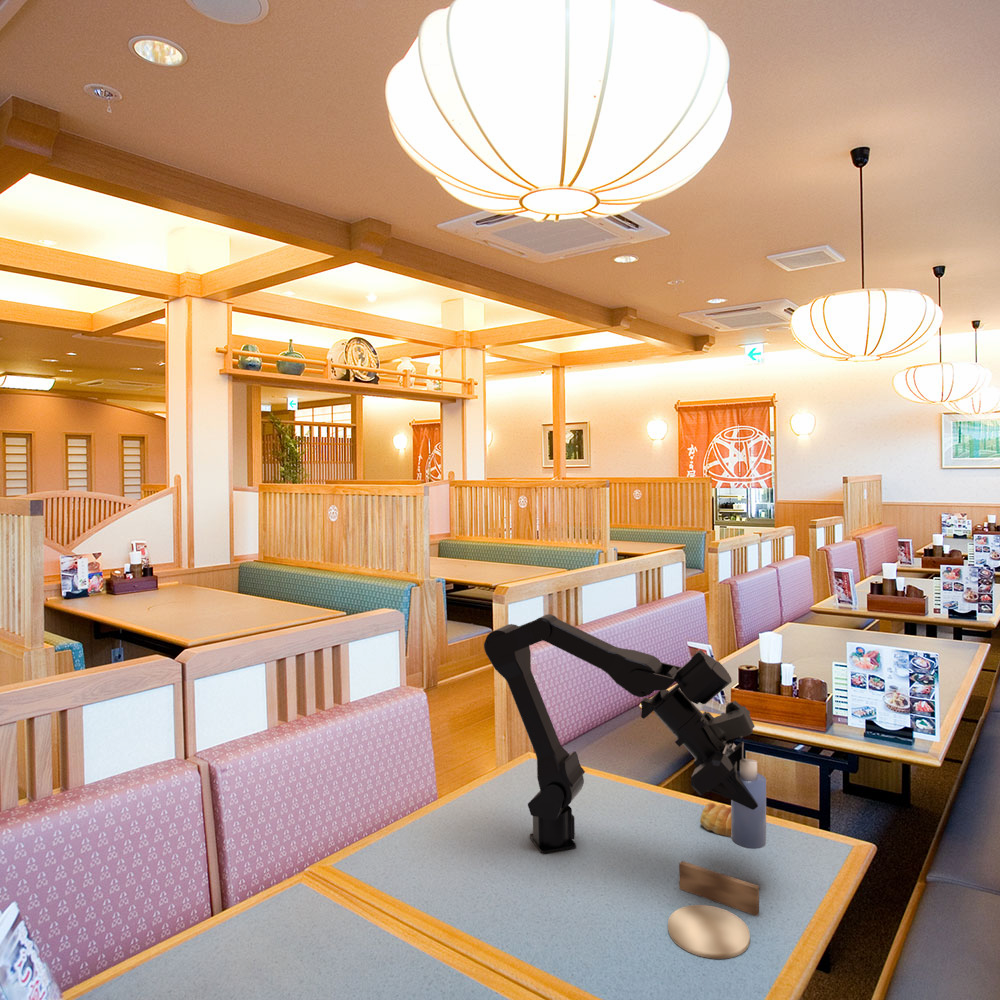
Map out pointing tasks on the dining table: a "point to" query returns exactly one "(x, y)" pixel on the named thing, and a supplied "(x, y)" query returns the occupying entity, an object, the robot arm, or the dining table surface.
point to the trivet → (709, 931)
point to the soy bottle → (745, 821)
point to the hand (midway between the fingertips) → (757, 800)
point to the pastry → (717, 819)
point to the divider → (719, 888)
